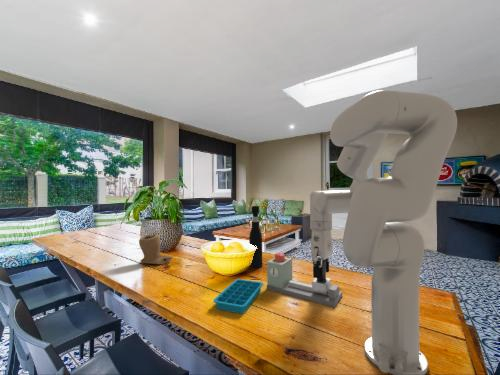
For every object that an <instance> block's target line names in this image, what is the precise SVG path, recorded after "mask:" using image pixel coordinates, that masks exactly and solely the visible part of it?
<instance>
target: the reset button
mask: <svg viewBox="0 0 500 375" xmlns="http://www.w3.org/2000/svg"><path fill="white" fill-rule="evenodd" d="M285 257H286V255H285V254H284V253H275V254H274V258H275V261H276V262H281V263H283V262H285Z"/></svg>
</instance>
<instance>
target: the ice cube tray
mask: <svg viewBox="0 0 500 375" xmlns="http://www.w3.org/2000/svg"><path fill="white" fill-rule="evenodd" d="M263 285H264V283H263V282H262V281H256V280H255V281H254V280H249V279H248V280H247V279H240V278H237V279H234V281H233V282H232V283H230V284H229V285H228V286H226V288H225V289H223V290H222V291H221V292H220V293H219V294H218V295H217V296H216V297H215V298H214V299H213V303H214V304H216V309H217V310H222V311H225V312H226V311H227V312H232V313H238V314H244V313H245V312H246V311H247V310H248V309H249V307H250V306H251V305H252V303H253V302H254V301H255V299H256V298H257V296H258V295H259V294H260V293H261V290H262V289H261V288H262V287H263Z"/></svg>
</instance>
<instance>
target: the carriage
mask: <svg viewBox="0 0 500 375" xmlns="http://www.w3.org/2000/svg"><path fill="white" fill-rule="evenodd" d="M317 261H319V263H320V260H317ZM322 267H323V278H322V279H319V278H313V280H311V284H312V290H313V292H316V293H320V294H324V295H327V291H328V290H329V289H330V288H331V286H332V278H330V277H327V272H326V260H323V259H322Z"/></svg>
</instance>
